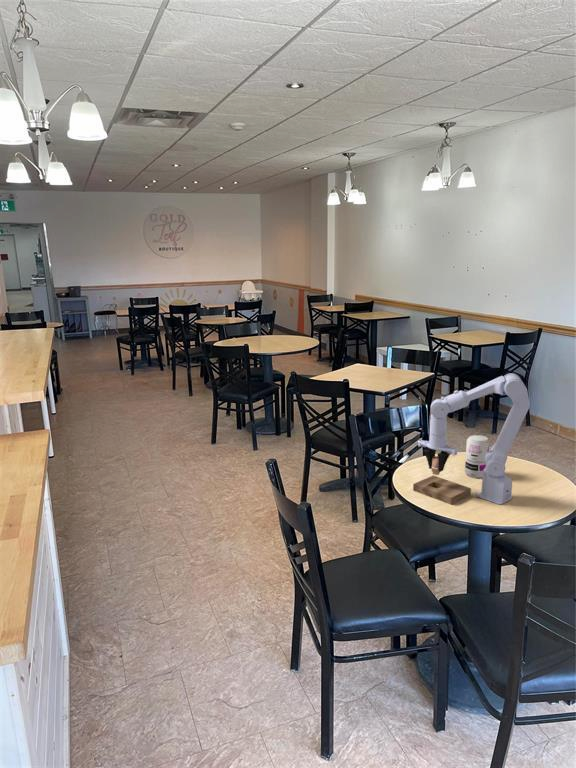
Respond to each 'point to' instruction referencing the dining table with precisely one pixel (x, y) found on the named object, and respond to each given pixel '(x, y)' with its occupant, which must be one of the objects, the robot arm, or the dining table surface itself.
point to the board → (442, 489)
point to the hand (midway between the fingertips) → (436, 469)
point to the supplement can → (476, 455)
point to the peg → (435, 465)
